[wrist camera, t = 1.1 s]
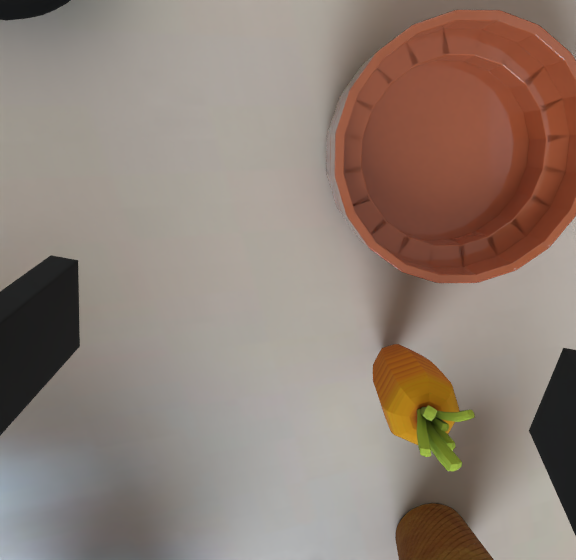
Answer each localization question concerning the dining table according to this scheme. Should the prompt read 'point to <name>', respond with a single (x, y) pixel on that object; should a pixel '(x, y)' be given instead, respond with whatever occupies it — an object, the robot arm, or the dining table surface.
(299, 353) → the dining table surface
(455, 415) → the carrot
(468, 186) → the bowl
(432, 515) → the disposable coffee cup
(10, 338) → the robot arm
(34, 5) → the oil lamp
